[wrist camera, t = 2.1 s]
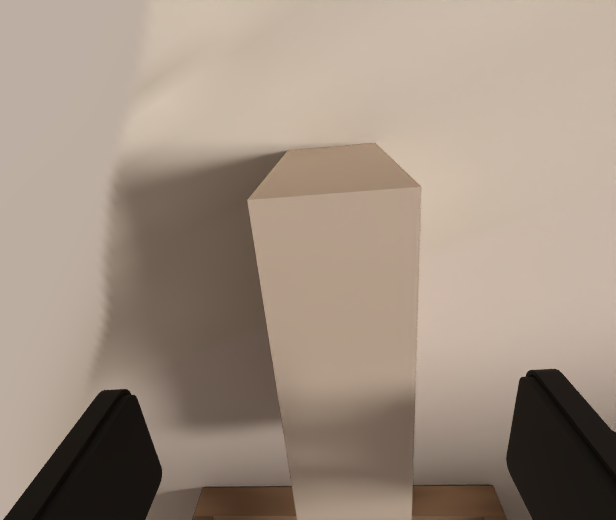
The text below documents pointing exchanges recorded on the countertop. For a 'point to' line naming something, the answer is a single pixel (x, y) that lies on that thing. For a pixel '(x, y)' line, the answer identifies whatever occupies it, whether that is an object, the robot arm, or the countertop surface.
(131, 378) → the countertop surface
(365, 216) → the beige rectangular block
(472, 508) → the walnut rack
